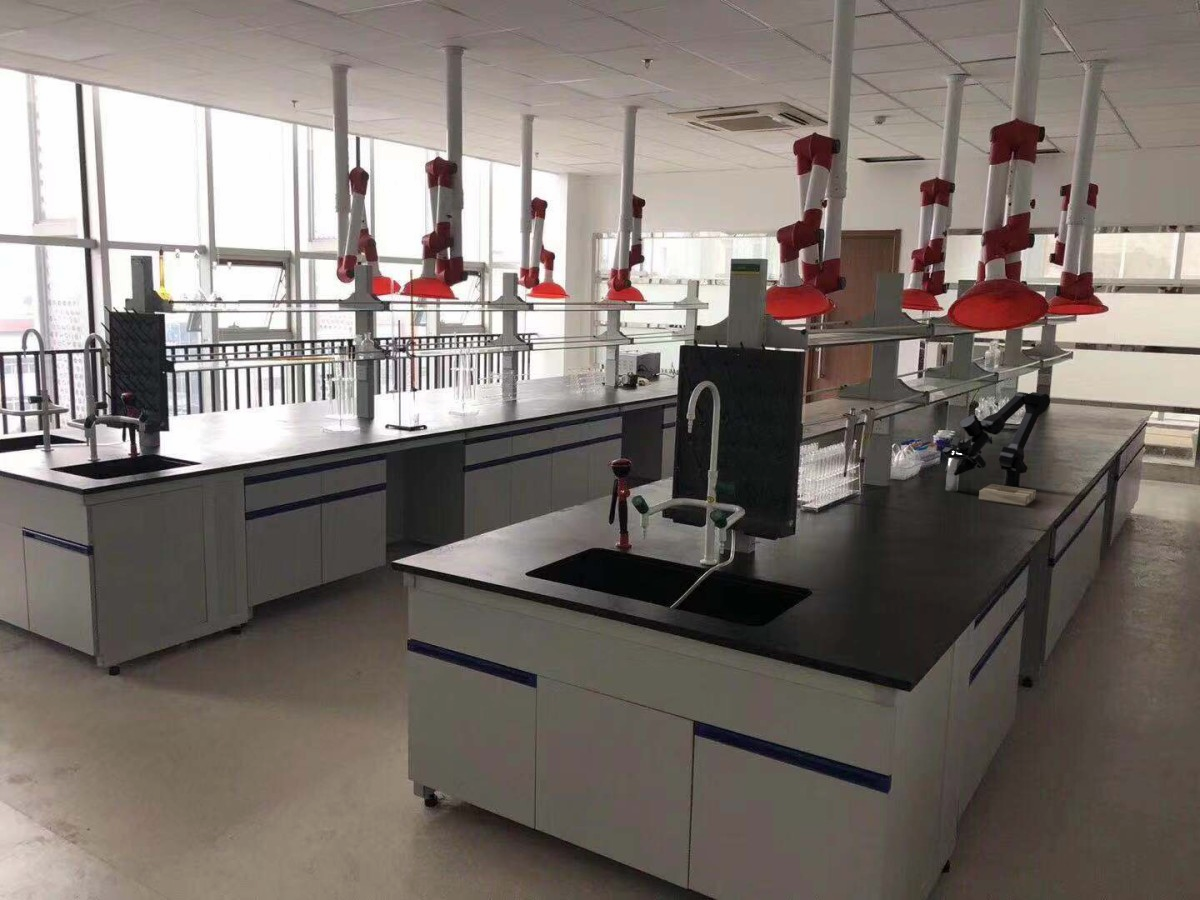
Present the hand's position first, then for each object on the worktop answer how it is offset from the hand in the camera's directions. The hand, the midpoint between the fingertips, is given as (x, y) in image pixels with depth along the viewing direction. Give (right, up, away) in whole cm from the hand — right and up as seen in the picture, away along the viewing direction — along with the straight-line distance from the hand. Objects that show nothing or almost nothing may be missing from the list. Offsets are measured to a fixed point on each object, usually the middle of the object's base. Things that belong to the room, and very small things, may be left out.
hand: (950, 473), depth 357 cm
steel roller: (+1, -6, +2) cm, 7 cm away
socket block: (+16, -9, -13) cm, 23 cm away
